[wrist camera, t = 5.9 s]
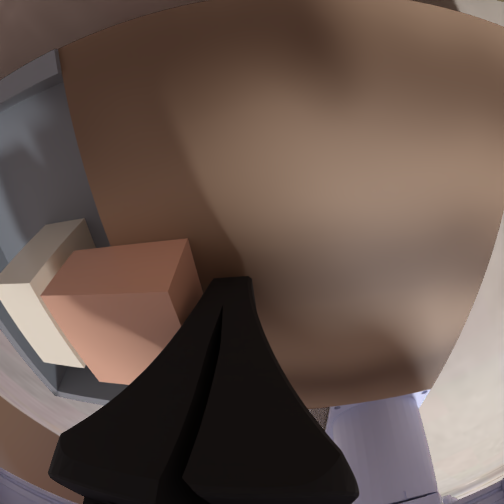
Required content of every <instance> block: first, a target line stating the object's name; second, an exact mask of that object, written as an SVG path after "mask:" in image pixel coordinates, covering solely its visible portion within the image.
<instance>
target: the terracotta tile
mask: <svg viewBox="0 0 504 504" xmlns="http://www.w3.org/2000/svg"><path fill="white" fill-rule="evenodd" d="M202 295H203V291H202V287H201V284H200V280H199V277H198V273H197V270H196V266H195V263H194V259H193V256H192V252H191V248H190V244H189V241H188V238H185V239H176V240H166V241H156V242H147V243H137V244H128V245H119V246H110V247H102V248H93V249H84V250H76V251H73V252H72V254H71V255H70V256H69V258H68V259H67V260H66V261H65V263H64V264H63V265H62V267H61V268H60V269H59V271H58V272H57V273H56V275H55V276H54V277H53V279H52V280H51V281H50V283H49V284H48V285H47V287H46V288H45V290H44V291H43V292H42V294H41V295H40V296H41V298H42V300H43V301H44V303H45V305H46V306H47V308H48V310H49V311H50V313H51V314H52V316H53V318H54V319H55V321H56V322H57V324H58V325H59V327H60V328H61V330H62V331H63V333H64V334H65V336H66V337H67V339H68V340H69V342H70V343H71V344H72V346H73V347H74V349H75V350H76V352H77V353H78V354H79V356H80V357H81V358H82V360H83V361H84V362H85V364H86V365H87V366H88V368H89V369H90V370H91V372H92V373H93V374H94V375H95V377H96V378H97V379H98V381H99V382H107V383H116V384H125V385H129V384H131V383H132V382H133V381H134V380H135V379H136V378H137V377H138V376H139V375H140V374H141V373H142V372H143V371H144V370H145V369H146V368H147V367H148V366H149V365H150V364H151V363H152V362H153V360H154V359H155V358H156V357H157V356H158V355H159V354H160V353H161V351H162V350H163V349H164V348H165V347H166V345H167V344H168V343H169V342H170V340H171V339H172V338H173V336H174V335H175V334H176V333H177V331H178V330H179V329H180V327H181V326H182V325H183V323H184V322H185V320H186V319H187V317H188V316H189V315H190V313H191V312H192V310H193V309H194V307H195V306H196V304H197V303H198V301H199V300H200V298H201V297H202Z"/></svg>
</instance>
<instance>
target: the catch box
mask: <svg viewBox="0 0 504 504" xmlns="http://www.w3.org/2000/svg"><path fill="white" fill-rule="evenodd" d="M82 218H85V221H86V223H87V226H88V229H89V231H90V234H91V236H92V239H93V242H94V244H95V247H96V248H102V247H110V243H109V240H108V238H107V235H106V232H105V230H104V227H103V224H102V221H101V218H100V216H99V213H98V210H97V207H96V204H95V201H94V198H93V195H92V192H91V189H90V185H89V182H88V179H87V176H86V172H85V169H84V166H83V162H82V159H81V155H80V151H79V148H78V144H77V140H76V136H75V132H74V128H73V124H72V120H71V116H70V111H69V107H68V102H67V97H66V93H65V87H64V82H63V77H62V71H61V65H60V59H59V52H58V49H54V50H52V51H50V52H48V53H46V54H44V55H42V56H40V57H39V58H37V59H35V60H33V61H31V62H29V63H28V64H26V65H24V66H22V67H21V68H19V69H17V70H16V71H14V72H12V73H11V74H9V75H8V76H6V77H4V78H3V79H1V80H0V273H1V272H2V271H3V270H4V268H5V267H6V266H7V265H8V264H9V263H10V262H11V260H12V259H13V258H14V257H15V256H16V255H17V254H18V253H19V252H20V251H21V249H22V248H23V247H24V246H25V245H26V244H27V243H28V242H29V241H30V240H31V239H32V238H33V237H34V236H35V235H36V234H37V233H38V232H39V231H40V230H41V229H42V228H43V227H44V226H45V225H47V224H53V223H58V222H64V221H70V220H76V219H82ZM0 329H1V331H2V332H3V333H4V335H5V336H6V338H7V339H8V340H9V342H10V343H11V344H12V346H13V347H14V348H15V350H16V351H17V352H18V353H19V355H20V356H21V357H22V358H23V360H24V361H25V362H26V363H27V365H28V366H29V367H30V368H31V369H32V370H33V372H34V373H35V374H36V375H37V376H38V377H39V379H40V380H41V381H42V382H43V383H44V384H45V385H46V386H47V387H48V389H49V390H50V391H51V392H52V393H53V394H54V395H55V396H58V397H63V398H67V399H72V400H77V401H82V402H88V403H93V404H99V405H106V404H107V403H108V402H109V401H111V400H112V399H113V398H114V397H116V396H117V395H118V394H119V393H121V392H122V391H123V390H124V389H125V388H126V387H127V386H128V385H125V384H116V383H107V382H99V381H98V379H97V378H96V377H95V375H94V374H93V373H92V372H91V370H90V369H89V368H88V366H87V365H85V368H79V367H71V366H65V365H58V364H52V363H46V362H43V361H42V359H41V358H40V357H39V355H38V354H37V353H36V352H35V350H34V349H33V348H32V346H31V345H30V344H29V342H28V341H27V339H26V338H25V337H24V335H23V334H22V332H21V331H20V330H19V328H18V327H17V325H16V324H15V322H14V321H13V319H12V318H11V316H10V315H9V313H8V312H7V310H6V308H5V307H4V305H3V304H2V302H1V300H0Z"/></svg>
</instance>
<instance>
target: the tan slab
mask: <svg viewBox="0 0 504 504" xmlns="http://www.w3.org/2000/svg"><path fill="white" fill-rule="evenodd" d="M58 52H59V59H60V65H61V71H62V77H63V82H64V87H65V93H66V97H67V102H68V107H69V111H70V116H71V120H72V124H73V128H74V132H75V136H76V140H77V144H78V148H79V151H80V155H81V159H82V162H83V166H84V169H85V172H86V176H87V179H88V182H89V185H90V189H91V192H92V195H93V198H94V201H95V204H96V207H97V210H98V213H99V216H100V218H101V221H102V224H103V227H104V230H105V232H106V235H107V238H108V240H109V243H110V246H119V245H128V244H137V243H147V242H156V241H166V240H176V239H185V238H188V241H189V244H190V248H191V252H192V256H193V259H194V263H195V266H196V270H197V273H198V277H199V280H200V284H201V287H202V291H203V293H204V292H205V290H206V288H207V287H208V285H209V284H210V282H211V281H212V280H213V278H225V277H240V276H249V277H250V278H252V282H253V289H254V296H255V302H256V309H257V314H258V317H259V320H260V322H261V325H262V328H263V330H264V333H265V335H266V338H267V340H268V342H269V344H270V347H271V349H272V351H273V353H274V355H275V357H276V359H277V361H278V363H279V364H280V366H281V368H282V370H283V372H284V373H285V375H286V377H287V378H288V380H289V382H290V383H291V385H292V387H293V388H294V390H295V391H296V393H297V394H298V396H299V397H300V399H301V400H302V401H303V403H304V404H305V406H306V407H307V409H314V408H324V407H333V406H341V405H349V404H356V403H363V402H369V401H375V400H381V399H386V398H392V397H397V396H402V395H407V394H411V393H416V392H420V391H425V390H429V389H431V388H432V386H433V385H434V383H435V381H436V380H437V378H438V376H439V374H440V372H441V371H442V369H443V367H444V365H445V363H446V361H447V360H448V358H449V356H450V354H451V352H452V350H453V348H454V346H455V344H456V342H457V340H458V338H459V335H460V333H461V331H462V329H463V327H464V325H465V322H466V320H467V318H468V316H469V313H470V311H471V309H472V306H473V304H474V301H475V299H476V296H477V294H478V291H479V289H480V286H481V283H482V281H483V278H484V275H485V272H486V269H487V266H488V263H489V260H490V257H491V254H492V251H493V248H494V244H495V241H496V238H497V234H498V230H499V227H500V223H501V219H502V215H503V211H504V27H503V26H500V25H498V24H495V23H492V22H489V21H487V20H484V19H481V18H478V17H475V16H471V15H468V14H465V13H462V12H458V11H455V10H451V9H447V8H443V7H439V6H435V5H431V4H426V3H421V2H416V1H411V0H208V1H203V2H198V3H193V4H188V5H183V6H179V7H175V8H171V9H167V10H163V11H159V12H155V13H152V14H148V15H145V16H142V17H138V18H135V19H132V20H129V21H126V22H123V23H120V24H117V25H114V26H111V27H109V28H106V29H103V30H101V31H98V32H96V33H93V34H91V35H88V36H86V37H84V38H81V39H79V40H77V41H74V42H72V43H70V44H68V45H66V46H64V47H61V48H59V49H58Z"/></svg>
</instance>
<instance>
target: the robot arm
mask: <svg viewBox="0 0 504 504" xmlns="http://www.w3.org/2000/svg"><path fill="white" fill-rule="evenodd" d="M430 390H431V389H429V390H425V391H420V392H416V393H411V394H407V395H402V396H397V397H392V398H386V399H381V400H375V401H369V402H363V403H356V404H349V405H341V406H333V407H330V408H329V414H328V419H327V424H326V429H325V431H324V430H323V428H322V427H321V426H320V425H319V423H318V422H317V421H316V419H315V418H314V417H313V416H312V414H311V413H310V412H309V410H308V409H307V407H306V406H305V404H304V403H303V401H302V400H301V399H300V397H299V396H298V394H297V393H296V391H295V390H294V388H293V387H292V385H291V383H290V382H289V380H288V378H287V377H286V375H285V373H284V372H283V370H282V368H281V366H280V364H279V363H278V361H277V359H276V357H275V355H274V353H273V351H272V349H271V347H270V344H269V342H268V340H267V338H266V335H265V333H264V330H263V328H262V325H261V322H260V320H259V317H258V314H257V309H256V302H255V296H254V289H253V282H252V278H250V277H249V276H240V277H225V278H213V280H212V281H211V282H210V284H209V285H208V287H207V288H206V290H205V292H204V293H203V295H202V297H201V298H200V300H199V301H198V303H197V304H196V306H195V307H194V309H193V310H192V312H191V313H190V315H189V316H188V317H187V319H186V320H185V322H184V323H183V325H182V326H181V327H180V329H179V330H178V331H177V333H176V334H175V335H174V336H173V338H172V339H171V340H170V342H169V343H168V344H167V345H166V347H165V348H164V349H163V350H162V351H161V353H160V354H159V355H158V356H157V357H156V358H155V359H154V360H153V362H152V363H151V364H150V365H149V366H148V367H147V368H146V369H145V370H144V371H143V372H142V373H141V374H140V375H139V376H138V377H137V378H136V379H135V380H134V381H133V382H132V383H131V384H129V385H128V386H127V387H126V388H125V389H124V390H123V391H122V392H121V393H119V394H118V395H117V396H116V397H114V398H113V399H112V400H111V401H109V402H108V403H107V404H106V405H104V406H103V407H102V408H100V409H99V410H98V411H96V412H95V413H93V414H92V415H91V416H89V417H88V418H86V419H84V420H83V421H81V422H80V423H78V424H77V425H75V426H73V427H72V428H70V429H68V430H67V431H65V432H63V433H62V434H61V435H60V437H59V440H58V443H57V446H56V449H55V452H54V455H53V458H52V461H51V464H50V468H49V471H48V474H49V476H50V478H52V479H53V480H54V481H56V482H57V483H59V484H61V485H63V486H65V487H66V488H68V489H70V490H72V491H74V492H76V493H78V494H81V495H82V496H84V501H83V504H442V498H441V495H440V494H439V492H438V488H437V482H436V478H435V473H434V468H433V464H432V459H431V455H430V451H429V446H428V442H427V438H426V434H425V431H424V427H423V423H422V419H421V416H420V412H419V407H420V406H421V404H422V403H423V401H424V399H425V398H426V396H427V395H428V393H429V391H430ZM0 504H77V503H74V502H72V501H69V500H67V499H64V498H61V497H59V496H57V495H55V494H52V493H50V492H48V491H45V490H43V489H41V488H39V487H37V486H35V485H32V484H30V483H28V482H27V481H25V480H23V479H20V478H19V477H17V476H15V475H13V474H11V473H9V472H8V471H6V470H4V469H2V468H0ZM443 504H504V478H503V479H502V480H501V481H499V482H497V483H495V484H493V485H491V486H489V487H487V488H485V489H482V490H480V491H478V492H476V493H474V494H471V495H469V496H467V497H464V498H462V499H459V500H458V499H457V498H455V497H451V495H446V496H444V497H443Z"/></svg>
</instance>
